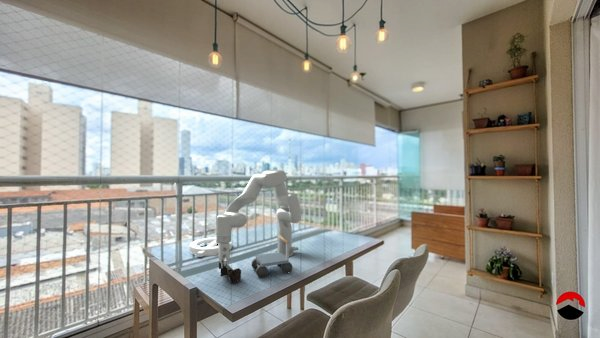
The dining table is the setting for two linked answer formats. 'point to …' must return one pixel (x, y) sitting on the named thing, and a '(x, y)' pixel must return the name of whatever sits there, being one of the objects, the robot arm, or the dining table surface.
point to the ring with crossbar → (207, 250)
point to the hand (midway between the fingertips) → (222, 271)
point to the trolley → (272, 261)
